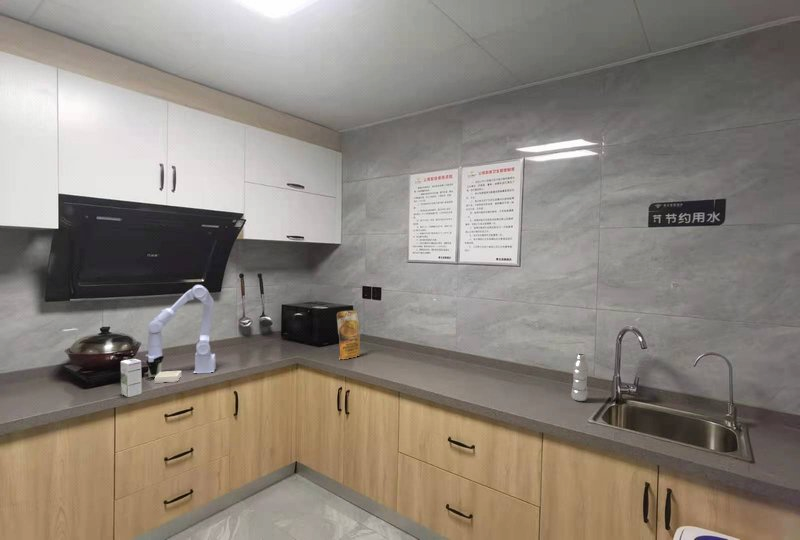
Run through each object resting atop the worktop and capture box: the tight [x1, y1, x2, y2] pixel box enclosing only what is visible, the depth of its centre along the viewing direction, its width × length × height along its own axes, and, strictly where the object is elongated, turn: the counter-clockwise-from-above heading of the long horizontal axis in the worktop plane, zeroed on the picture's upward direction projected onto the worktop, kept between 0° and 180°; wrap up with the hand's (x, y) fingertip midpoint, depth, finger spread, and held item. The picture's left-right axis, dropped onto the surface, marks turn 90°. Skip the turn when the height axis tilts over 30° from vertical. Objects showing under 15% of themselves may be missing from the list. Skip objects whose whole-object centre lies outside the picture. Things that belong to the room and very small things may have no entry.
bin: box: [154, 370, 182, 384], centre depth 191 cm, size 9×9×3 cm
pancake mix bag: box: [336, 309, 361, 361], centre depth 240 cm, size 7×19×28 cm, turn 139°
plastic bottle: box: [570, 353, 589, 402], centre depth 175 cm, size 6×7×20 cm
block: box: [148, 362, 163, 378], centre depth 196 cm, size 4×4×6 cm
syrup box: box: [120, 358, 143, 398], centre depth 171 cm, size 6×6×14 cm
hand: (155, 373), depth 196 cm, fingers closed on block, 4 cm apart
